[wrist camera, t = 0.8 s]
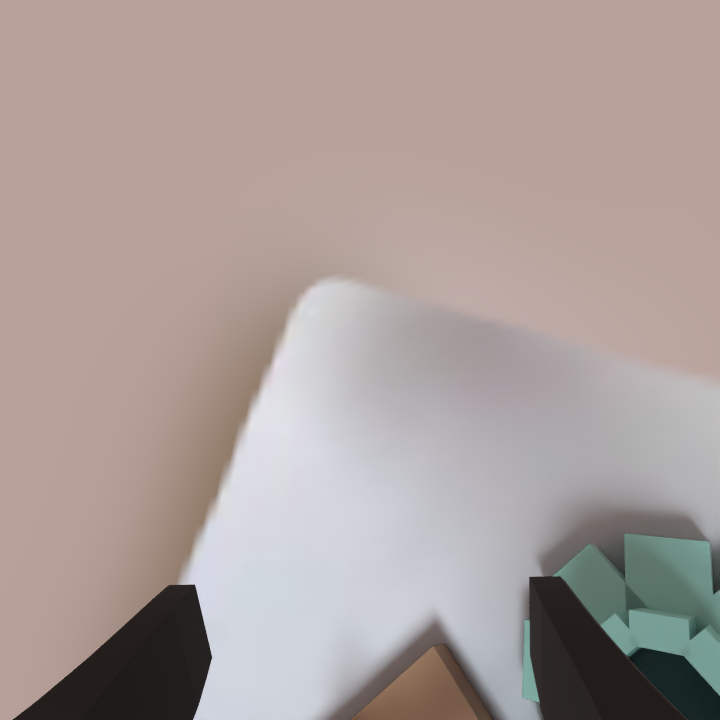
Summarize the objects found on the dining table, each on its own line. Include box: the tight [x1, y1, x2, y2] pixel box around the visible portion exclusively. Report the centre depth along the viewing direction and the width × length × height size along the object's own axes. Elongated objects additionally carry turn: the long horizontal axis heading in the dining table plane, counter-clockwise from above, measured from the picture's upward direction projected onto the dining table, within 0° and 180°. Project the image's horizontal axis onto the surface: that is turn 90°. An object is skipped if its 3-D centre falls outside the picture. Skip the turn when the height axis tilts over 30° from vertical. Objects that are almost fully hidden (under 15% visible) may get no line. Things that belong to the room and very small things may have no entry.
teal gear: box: [522, 533, 720, 703], centre depth 17 cm, size 10×10×4 cm
